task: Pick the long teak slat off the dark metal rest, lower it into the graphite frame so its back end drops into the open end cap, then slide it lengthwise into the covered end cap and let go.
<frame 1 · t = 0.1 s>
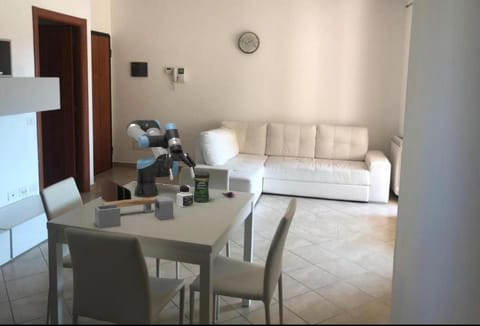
hand: (182, 178, 273), 15 cm above the table, tool tilted 35°, fingers open, 13 cm apart
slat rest: (129, 213, 252), on the table
coffee jar: (201, 201, 282), on the table
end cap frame: (138, 220, 242), on the table
slat: (129, 205, 251), point 5 cm above the table, touching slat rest
medicine bottle: (184, 205, 272), on the table
letter holder: (116, 201, 277), on the table
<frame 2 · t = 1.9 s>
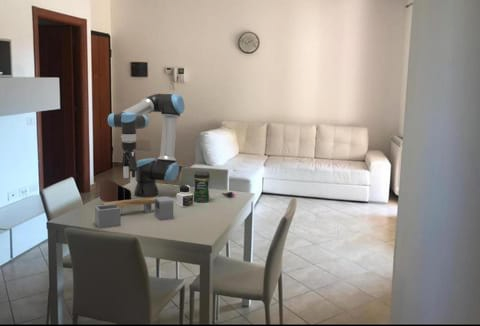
hand: (129, 180, 249), 19 cm above the table, tool pointing down, fingers open, 13 cm apart
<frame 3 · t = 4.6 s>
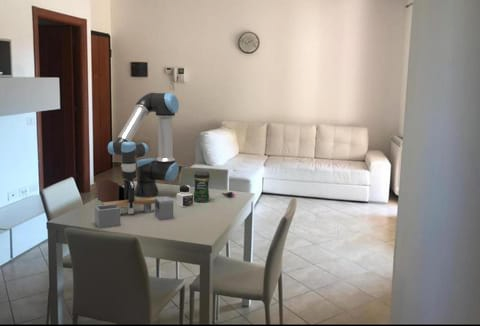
hand: (129, 212, 252), 1 cm above the table, tool pointing down, fingers closed on slat, 4 cm apart
slat: (129, 205, 251), point 5 cm above the table, touching gripper, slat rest
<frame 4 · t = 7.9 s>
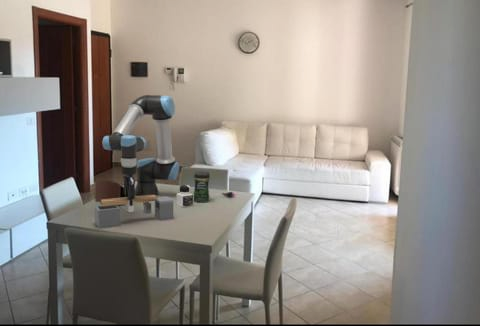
hand: (129, 210, 238), 6 cm above the table, tool pointing down, fingers closed on slat, 4 cm apart
slat: (129, 202, 238), point 10 cm above the table, touching gripper
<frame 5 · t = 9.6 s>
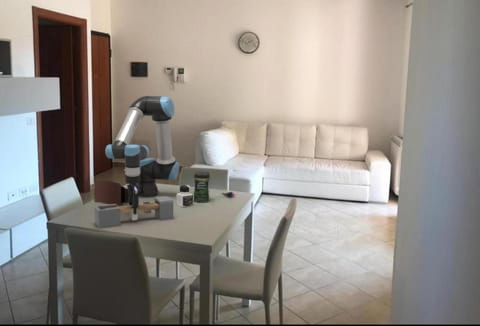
hand: (133, 218, 240), 1 cm above the table, tool pointing down, fingers closed on slat, 4 cm apart
slat: (133, 211, 240), point 5 cm above the table, touching gripper
when the fingers open (1 cm above the table, at t = 11.2 s): slat stays where it is, resting on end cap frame.
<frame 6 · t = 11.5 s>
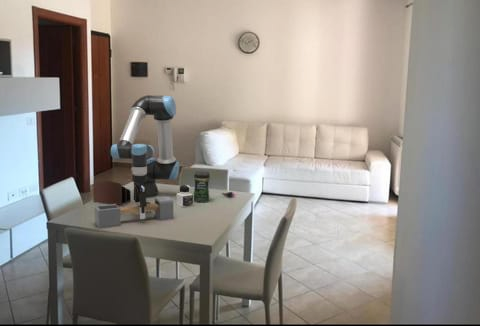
hand: (140, 216, 242), 2 cm above the table, tool pointing down, fingers open, 8 cm apart
slat: (139, 211, 241), point 5 cm above the table, touching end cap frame
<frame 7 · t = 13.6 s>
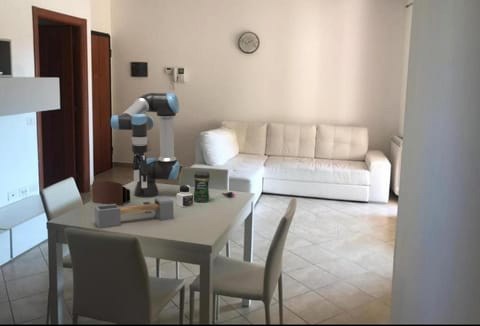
hand: (140, 184, 240), 19 cm above the table, tool pointing down, fingers open, 13 cm apart
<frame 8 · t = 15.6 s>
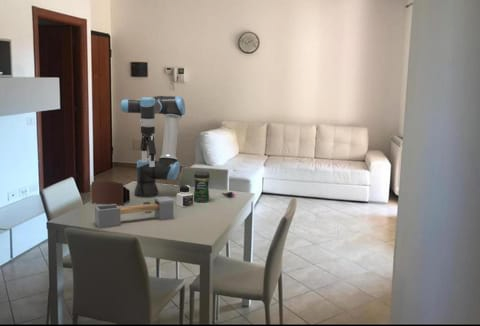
hand: (148, 164, 254), 27 cm above the table, tool pointing down, fingers open, 13 cm apart
at the end: slat 0.7 cm off-centre on the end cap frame, point 5.0 cm above the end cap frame's base; slat tilted 0°; the gripper is holding nothing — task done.
